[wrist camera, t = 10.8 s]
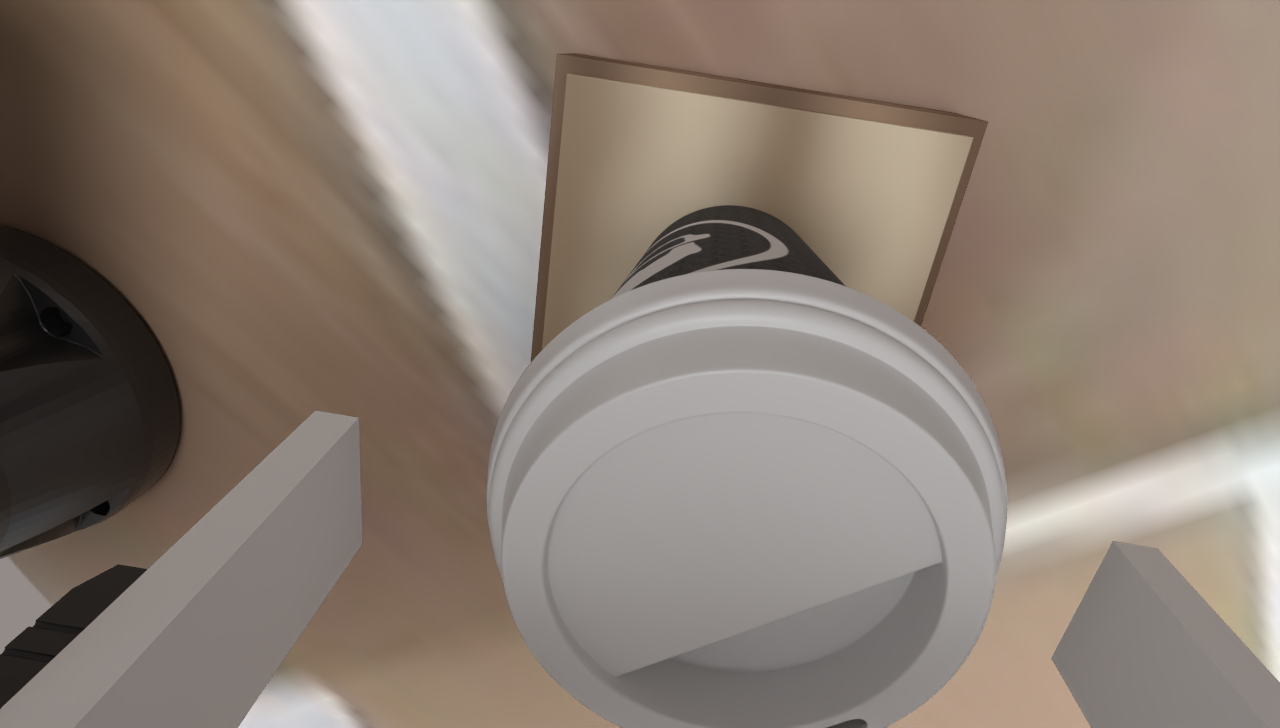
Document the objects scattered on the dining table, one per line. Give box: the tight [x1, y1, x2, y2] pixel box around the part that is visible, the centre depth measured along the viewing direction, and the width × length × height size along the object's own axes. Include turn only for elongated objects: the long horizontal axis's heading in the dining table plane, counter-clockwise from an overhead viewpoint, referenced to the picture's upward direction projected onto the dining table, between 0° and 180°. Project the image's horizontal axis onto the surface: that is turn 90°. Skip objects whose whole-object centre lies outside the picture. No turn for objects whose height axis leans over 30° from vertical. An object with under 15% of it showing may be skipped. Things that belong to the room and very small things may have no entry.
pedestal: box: [531, 53, 988, 362], centre depth 27 cm, size 14×14×4 cm
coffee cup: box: [486, 205, 1007, 728], centre depth 18 cm, size 10×10×15 cm
